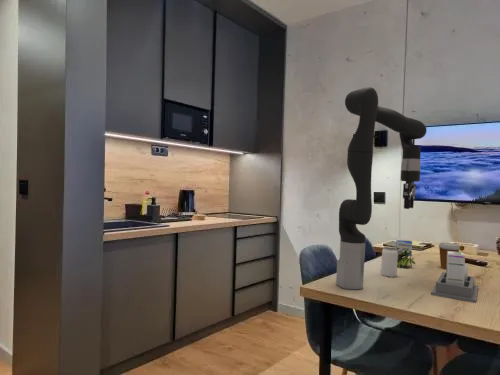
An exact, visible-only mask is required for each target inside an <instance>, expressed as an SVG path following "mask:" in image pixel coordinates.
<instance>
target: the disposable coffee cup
mask: <svg viewBox="0 0 500 375" xmlns="http://www.w3.org/2000/svg"><path fill="white" fill-rule="evenodd" d="M438 248H439V249H438V250H439V259H440V268H441V269H443V270H446V269H447V251H453V252H460V249H461V247H460V244H457V243H456V244H455V243H451V242H450V243H449V242H440V243H439V244H438Z"/></svg>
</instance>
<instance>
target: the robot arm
mask: <svg viewBox="0 0 500 375" xmlns="http://www.w3.org/2000/svg"><path fill="white" fill-rule="evenodd" d="M344 105H345V108H346V110H347V111H348V112H349V113H350V114H353V115H355V116H356V115H357V116H359V120H358V126H357V127H356V130H355V132H354V134H353V136H352V138H351V140H350V142H349V144H348V147H347V160H346V164H347V168H348V172H349V173H350V176H351V178H352V181H353V182H354V185H355V190H356V191H355V193H356V197H355V199H351V198H350V199H349V198H348V199H344V200H342V202H341V204H340V206H339V211H338V233H339V236H340V243H339V259H337V260H336V277H335V278H336V279H335V285H337V286H338V287H340V288H342V289H346V290H361V289H363V288H364V273H365V258H366V255H365V253H366V235H365V234H364V233H363V232H362V231H360V230H359V229H358V226H357V225H360V226H366V225H367V224H368V223H369V222H370V221H371V218H372V212H373V210H372V209H373V207H372V206H373V201H372V171H373V170H372V169H373V158H374V157H373V156H374V138H375V137H374V136H375V127H376V122H377V123H378V124H380V125H383V126H385V127H387V128H389V129H390V130H392V131H394V132H396V133H399V139H400V143H401V144H400V145H401V148H402V155H401V156H402V158H401V159H402V160H401V166H400V181H401V182H404V183H403V189H402V199H403V209H405V210H409V209H413V208H414V204H415V203H414V202H415V198H416V186H417V185H416V184H415V182H416V183H417V182H420V180H421V167H422V165H421V154H422V153H421V146H420V145H417V144H414V143H413V140H419V139H422V138H424V137H425V136H426V134H427V130H428V129H427V127H426V125H425V123H423V122H422V121H420V120H417V119H416V118H415V119H414V118H413V117H412V118H411V117H407V116H406V115H404V114H402V113H400V112H398V111H396V110H394V109H391V108H387V107H383V106H379V96H378V92H377V89H375V88H374V87H371V86H368V87H363V88H360V89H359V88H358V89H355V90H352V91H350V92H349V93H348V94H346V96H345V99H344Z"/></svg>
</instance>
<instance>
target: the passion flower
mask: <svg viewBox="0 0 500 375" xmlns="http://www.w3.org/2000/svg"><path fill="white" fill-rule="evenodd" d="M395 248H396V247H395ZM408 248H409V247H407V249H406V248H404V249H402V250H400V251H397V252H398V259H397V268H399V269H400V268H401V267H402V268H403V267H405V266H406V267H407V266H409V265H410V268H412V266H413V265H416V262H415V261H414V259H415V257H412V255H413V253H412V252H413V251H412V252H411V250H410V251H409V252H410V253H409V252H407V250H408ZM396 249H397V250H398V249H399V247H397V248H396ZM409 254H412V255H410V256H408V255H409ZM412 264H413V265H412Z"/></svg>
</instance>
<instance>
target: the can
mask: <svg viewBox="0 0 500 375" xmlns="http://www.w3.org/2000/svg"><path fill="white" fill-rule="evenodd" d="M397 259H398V252H397V249H396V247H390V246H384V247H383V249H382V251H381V264H380V266H381V267H380V274H381V276H383V277H387V278H396V277H397V276H398V263H397Z"/></svg>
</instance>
